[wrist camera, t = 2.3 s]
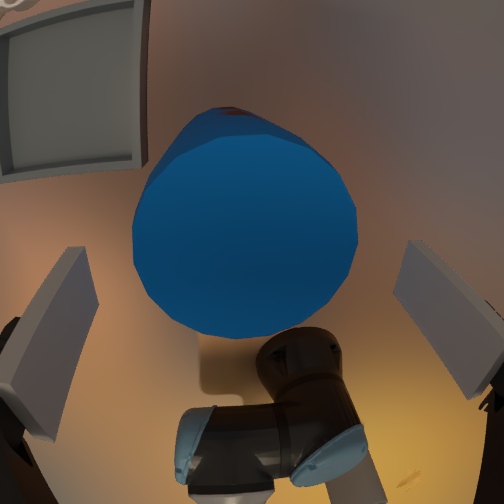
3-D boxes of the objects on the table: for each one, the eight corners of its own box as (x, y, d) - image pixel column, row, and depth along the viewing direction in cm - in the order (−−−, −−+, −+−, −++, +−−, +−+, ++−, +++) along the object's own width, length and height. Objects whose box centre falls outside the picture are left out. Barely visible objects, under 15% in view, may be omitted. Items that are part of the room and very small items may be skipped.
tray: (148, 160, 35) (141, 168, 32) (13, 175, 33) (-2, 184, 29) (151, 0, 26) (144, -10, 22) (8, 34, 23) (-8, 31, 20)
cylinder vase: (364, 414, 69) (397, 495, 48) (348, 437, 75) (374, 511, 53) (319, 422, 67) (346, 511, 46) (307, 444, 73) (328, 523, 51)
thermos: (183, 101, 33) (129, 118, 11) (275, 111, 34) (386, 151, 13) (175, 190, 38) (135, 336, 16) (262, 197, 39) (327, 341, 18)
